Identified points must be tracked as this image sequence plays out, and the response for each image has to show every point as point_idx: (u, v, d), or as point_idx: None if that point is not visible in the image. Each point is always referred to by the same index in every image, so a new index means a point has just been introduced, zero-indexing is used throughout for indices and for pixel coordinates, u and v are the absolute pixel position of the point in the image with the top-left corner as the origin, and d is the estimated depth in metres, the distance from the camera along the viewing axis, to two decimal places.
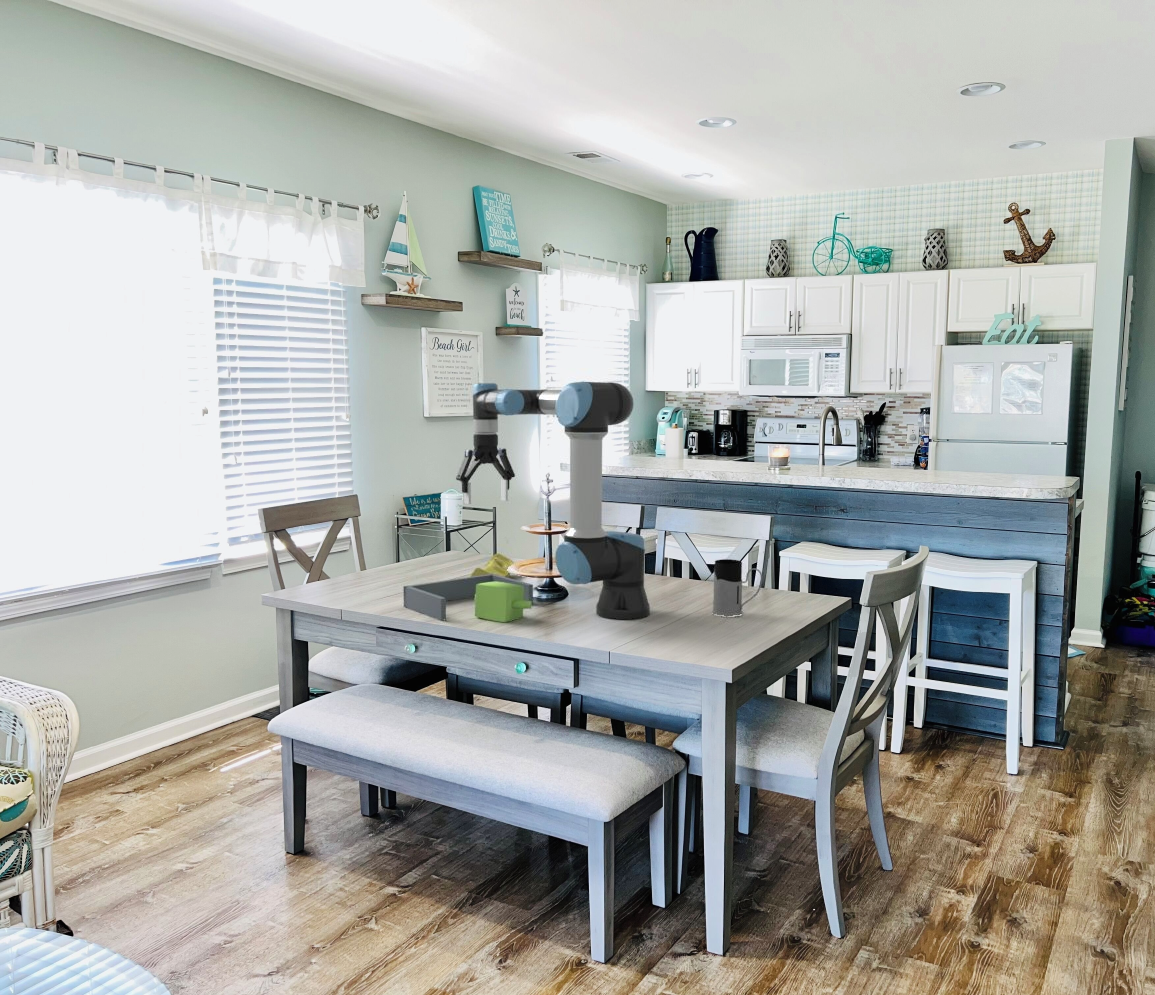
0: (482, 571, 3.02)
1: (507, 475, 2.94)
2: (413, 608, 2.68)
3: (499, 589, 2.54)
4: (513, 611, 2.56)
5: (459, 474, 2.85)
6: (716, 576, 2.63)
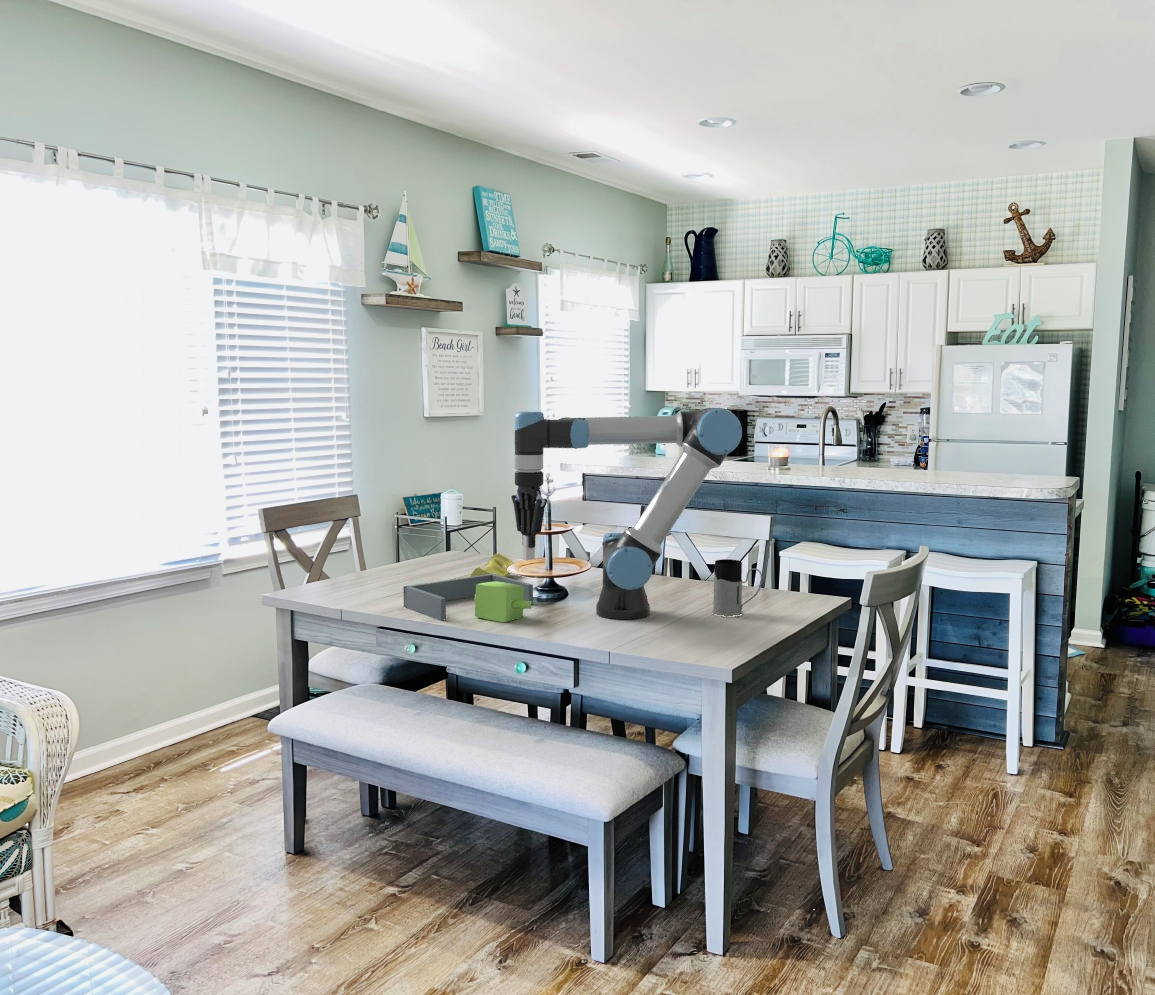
0: (482, 571, 3.02)
1: (528, 530, 2.46)
2: (413, 608, 2.68)
3: (499, 589, 2.54)
4: (513, 611, 2.56)
5: None
6: (716, 576, 2.63)
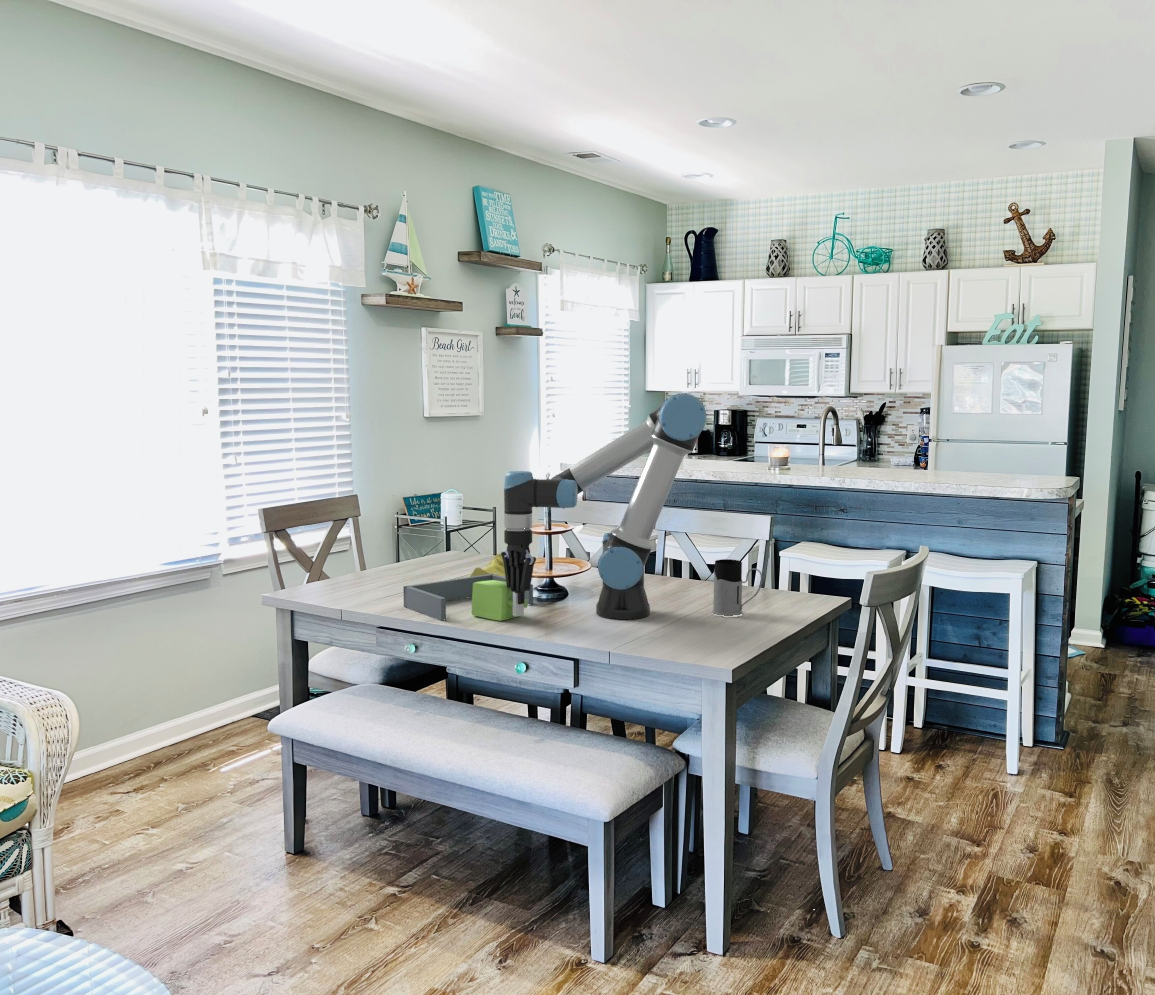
0: (482, 571, 3.02)
1: (517, 587, 2.52)
2: (413, 608, 2.68)
3: (495, 588, 2.55)
4: (509, 610, 2.57)
5: None
6: (716, 576, 2.63)
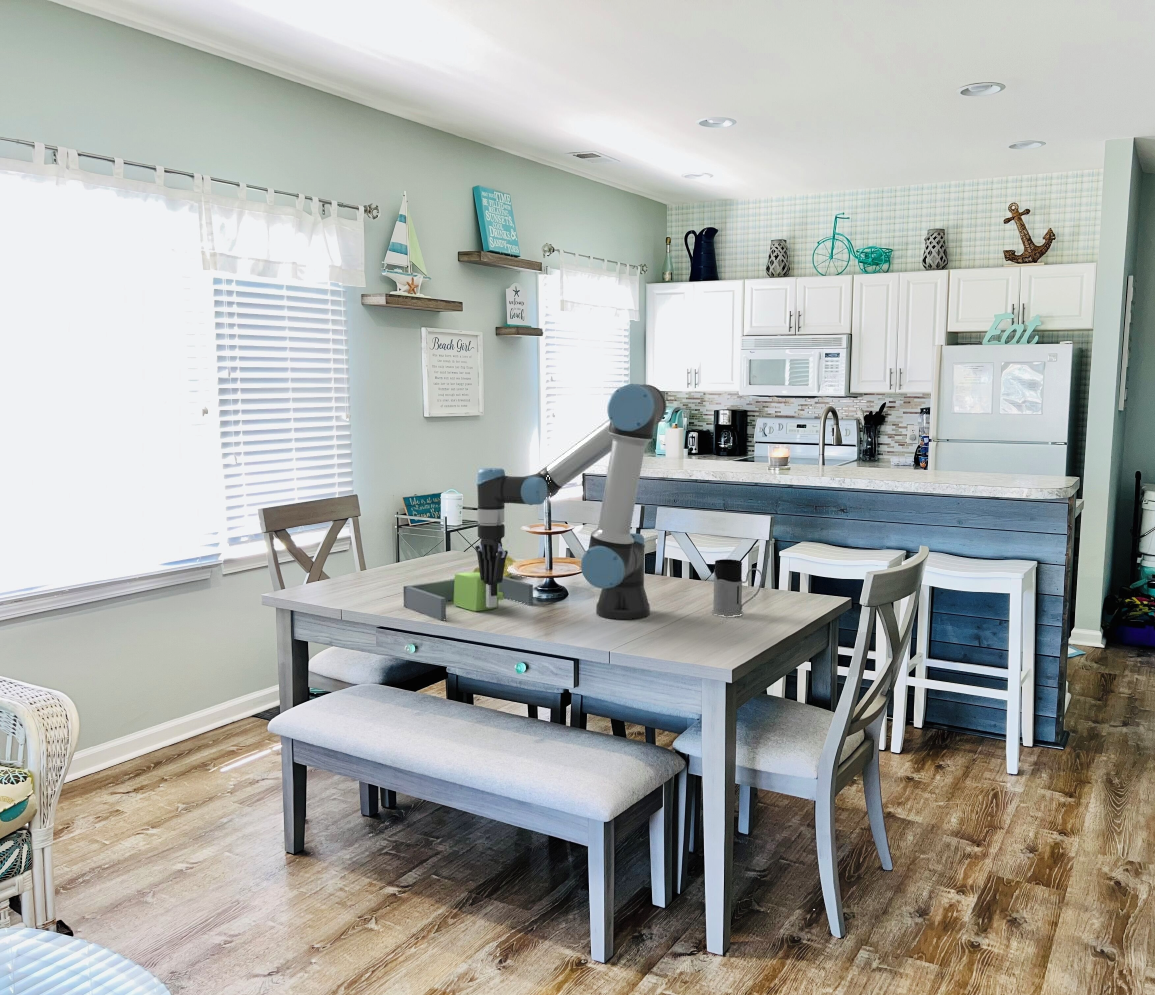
0: None
1: (490, 579, 2.62)
2: (413, 608, 2.68)
3: (472, 579, 2.67)
4: (485, 601, 2.68)
5: None
6: (716, 576, 2.63)
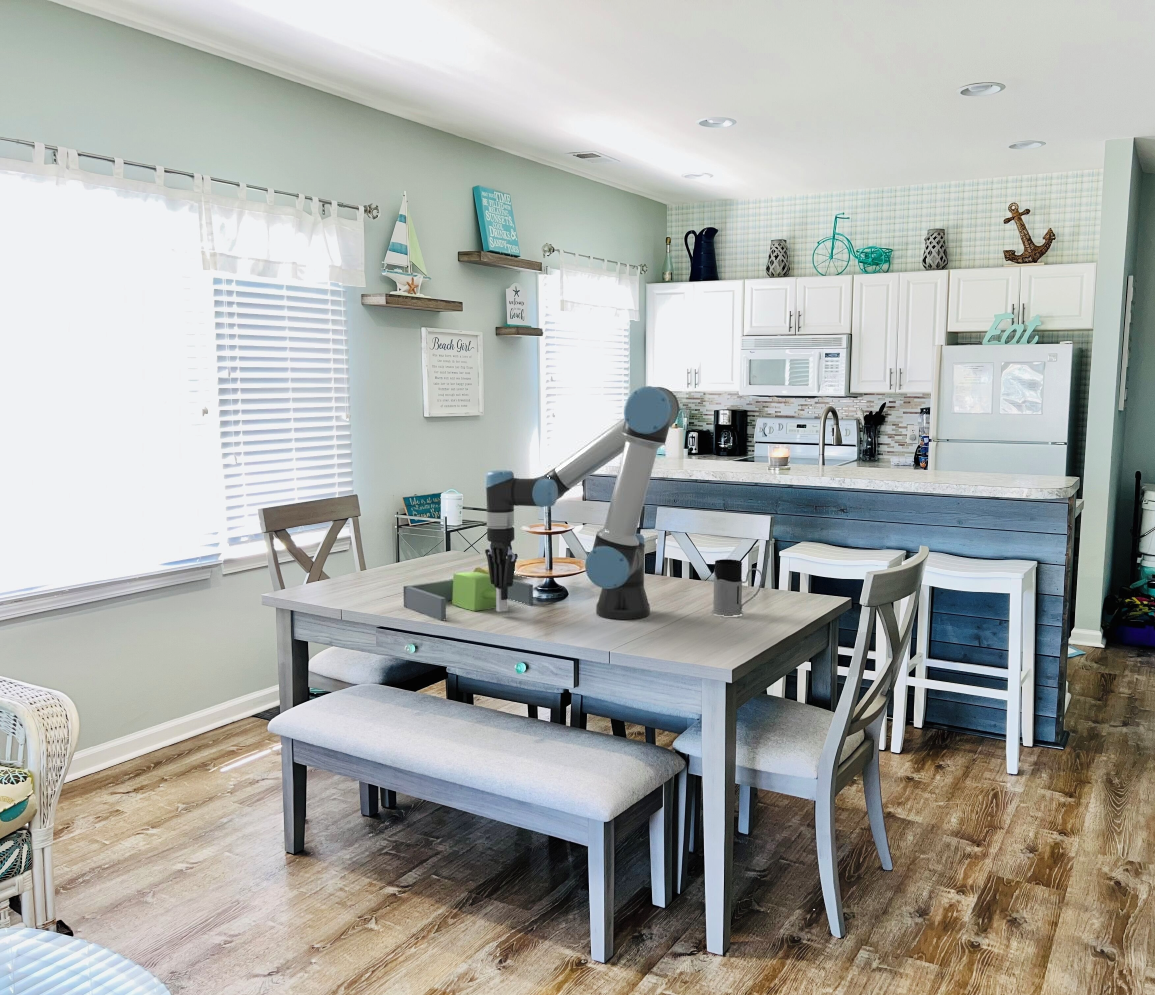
0: (482, 571, 3.03)
1: (500, 583, 2.58)
2: (413, 608, 2.68)
3: (470, 579, 2.68)
4: (483, 601, 2.68)
5: None
6: (716, 576, 2.63)
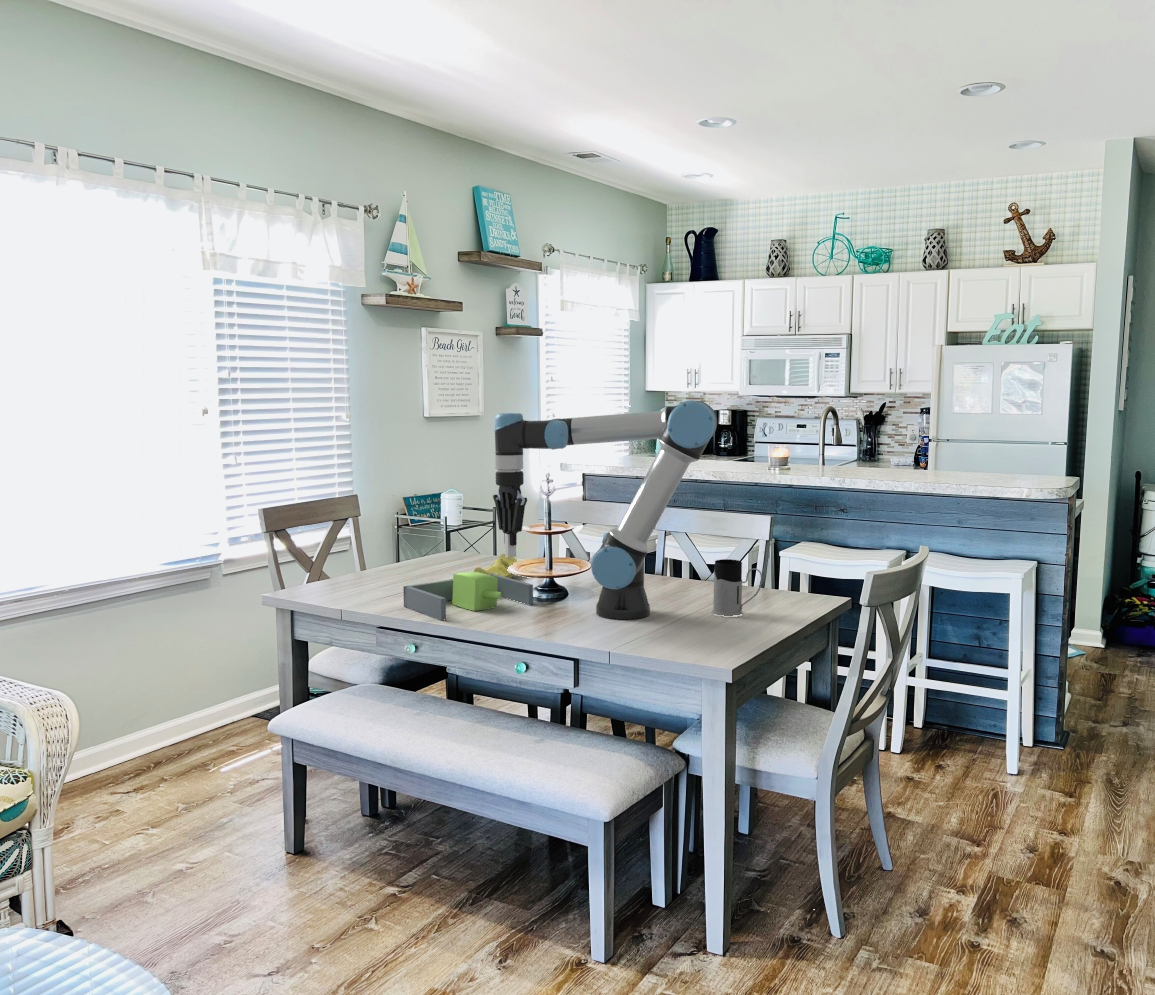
0: (482, 571, 3.03)
1: (509, 528, 2.53)
2: (413, 608, 2.68)
3: (470, 579, 2.68)
4: (483, 601, 2.68)
5: None
6: (716, 576, 2.63)
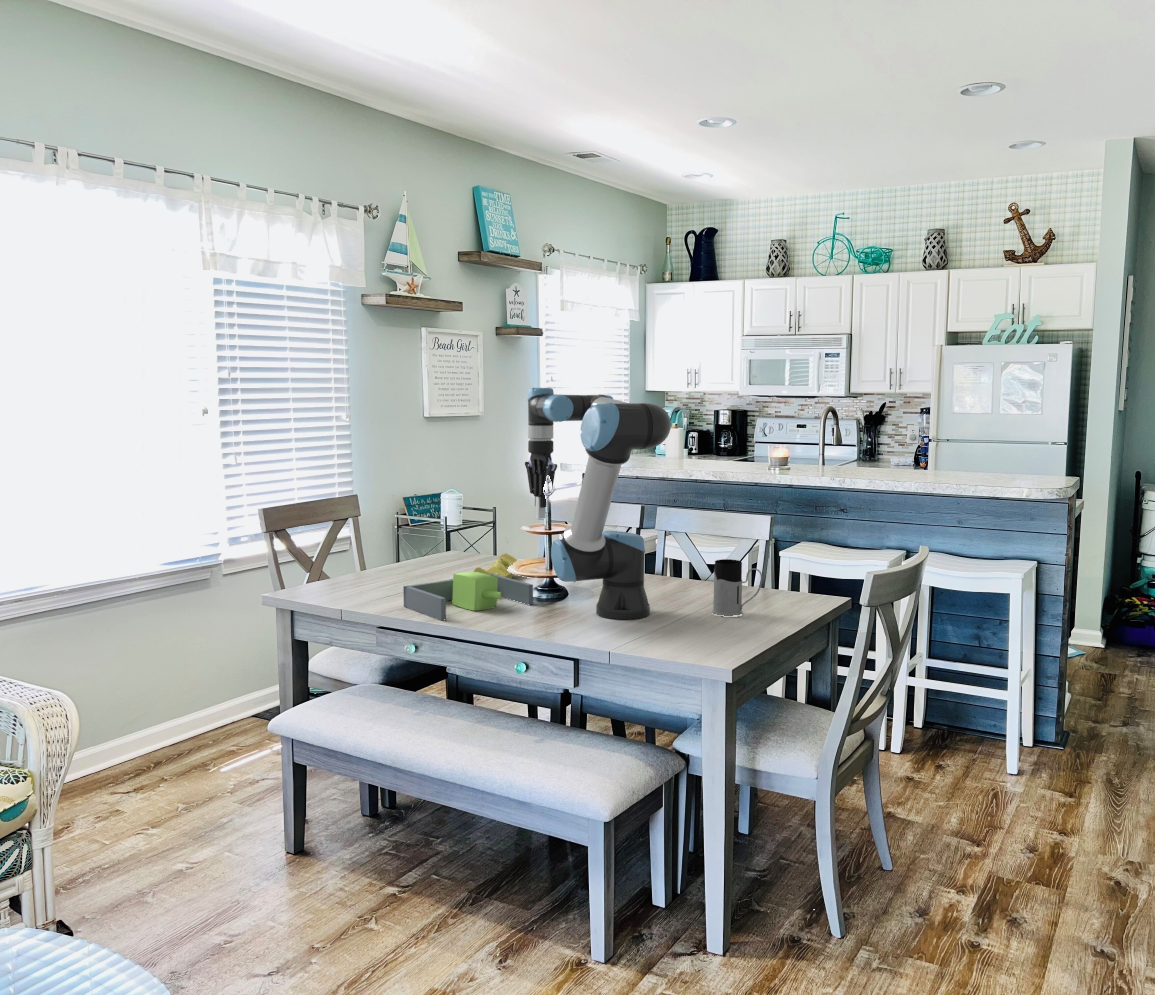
0: (482, 571, 3.03)
1: (540, 492, 2.80)
2: (413, 608, 2.68)
3: (470, 579, 2.68)
4: (483, 601, 2.68)
5: None
6: (716, 576, 2.63)
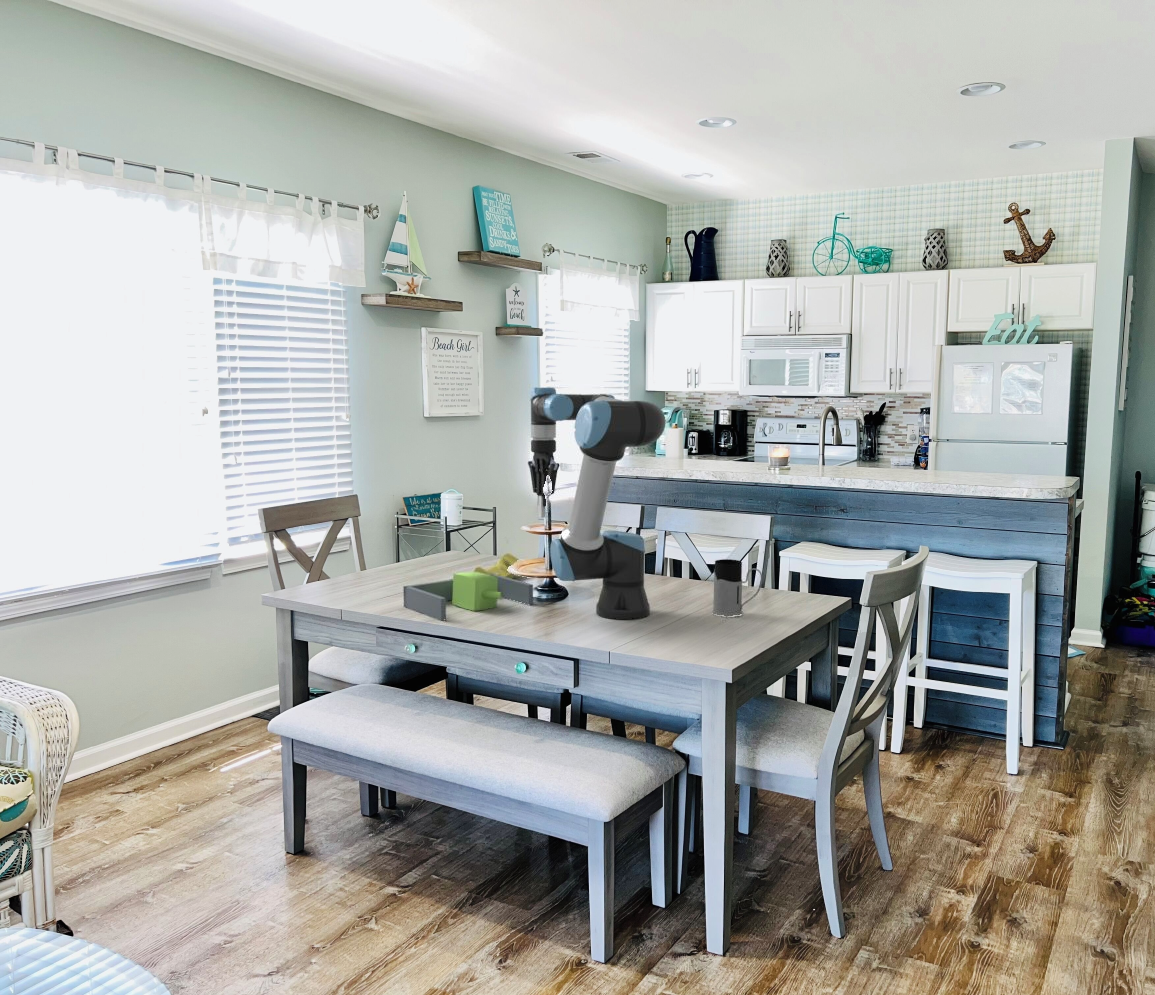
0: (482, 570, 3.03)
1: None
2: (413, 608, 2.68)
3: (470, 579, 2.68)
4: (483, 601, 2.68)
5: None
6: (716, 576, 2.63)
